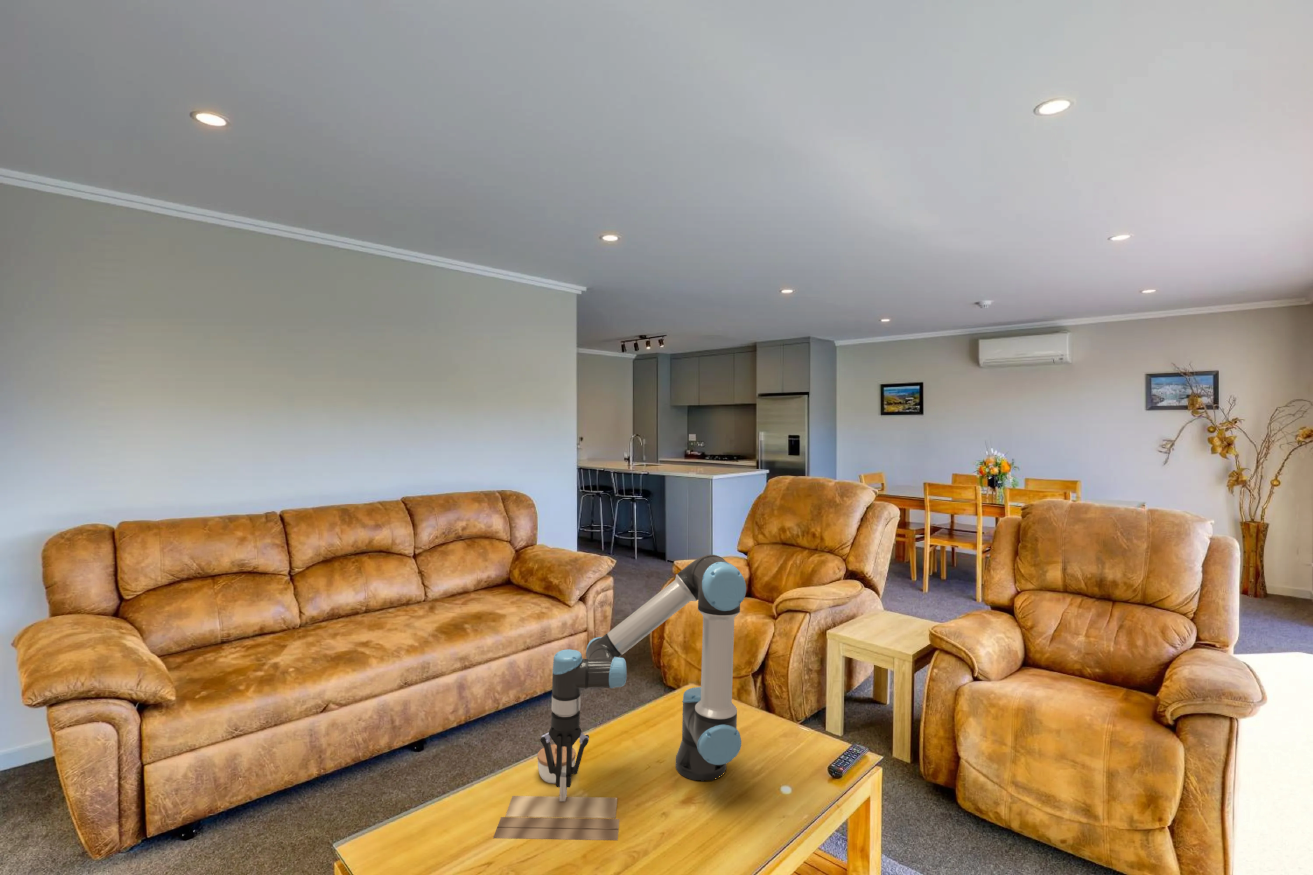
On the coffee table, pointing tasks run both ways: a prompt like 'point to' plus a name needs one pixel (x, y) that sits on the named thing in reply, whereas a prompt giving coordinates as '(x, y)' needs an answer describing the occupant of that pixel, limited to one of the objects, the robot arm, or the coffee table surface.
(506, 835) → the laid board
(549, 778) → the lidded jar
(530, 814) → the plank
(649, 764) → the coffee table surface
